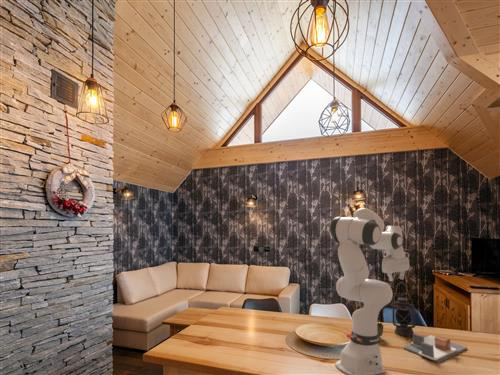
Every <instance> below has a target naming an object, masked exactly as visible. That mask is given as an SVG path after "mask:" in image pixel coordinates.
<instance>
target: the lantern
mask: <svg viewBox="0 0 500 375" xmlns="http://www.w3.org/2000/svg"><path fill="white" fill-rule="evenodd" d="M400 284H402V281H400V282H399V283H398V284H397V285H396V288H395V293H394V296H393V298H392V303H391V305H390V306H391V307H392V325H393V326H394V327H395V329H394V334H395V335H396V336H399V335H400V337H402V336H404V337H403V338H413V333H415V332H414V330H413V329H414V328H416V318H415V312H414V310H415V308H416V307H415V305H414V304H413V301H412V298H411V296H410V295H409V292H408V291H409V290H408V286H407V285H406V284H405V283H403V285H404V286H405V287H406V291H407V295H408V297H409V299H410V301H411V302H408V299H407V298H406V297H403V296H404V295H403V293H401V295H400V297H398V298H396V299H397V300H396V302H394V300H395V297H396V296H397V295H396V294H397V290H398V286H399V285H400ZM395 305H396V306H397V307H396V310H395ZM409 307H410V308H411V311H410V309H409ZM395 320H396V322H397V323H398V324H397V323H395ZM411 322H413V323H412V325H411Z"/></svg>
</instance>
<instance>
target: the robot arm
mask: <svg viewBox="0 0 500 375" xmlns="http://www.w3.org/2000/svg"><path fill="white" fill-rule="evenodd" d="M384 230H385V231H384ZM329 232H330V234H331V236H332V238H333V240H334V242H335V243H336V244H339V246H338V248H337V257H338V261H339V263H340V267H341V270H342V272H343V276H341V277H339V279H338V280H337V282H336V284H335V285H336V286H335V288H336V292H337V294H338V296H340V298H344V299H345V300H349V301H355V302H360V303H363V307H361V308H360V307H359V308H358V309H356V310H354V312H352V316H351V317H352V318H351V320H352V321H351V322H352V329H351V333H349V332H347V333H346V338H348V339H349V341H348V343H347V344H346V345H345V346H344V348H342V350H341V353H340V359H339V360H337V361H336V362H335V364H334V366H335V368H337V369H338V370H339V371H341V372H343V373H344V374H347V375H379V374H384V373H386V368H385V367H384V363H383V362H384V361H383V357H382V351H381V348H380V344H379V343H380V339H379V334H378V330H377V324H378V322H379V321H378V319H379V315H380V312H381V311H382V309H383V308H384V307H386V306H387V305H388V304H390V303H391V301H393V297H394V296H393V294H394V293H393V289H392V287H391V285H390V284H389V283H388V282H386V281H382V280H379V279H372V278H369V275H370V270H369V266H368V264H367V261H366V257H365V255H364V253H363V251H362V249H361V248H360V245H365V247H366V248H367V249H368V250H385V253H386V255H384V256H383V258H382V262H381V272H382V273H384V274H387V277H388V281H389V282H393V281H394V277H393V273H394V274H395V273H400V274H399V275H398V277H399V279H400V280H405V279H404V278H405V277H404V276H405V274H406V273H405V271H409V270H410V254H409V253H408V252H405V251H404V250H405V249H404V247H403V243H404V238H403V236H404V235H403V231H402V227H401V226H400V225H395V224H393V225H390V224H389V225H387V226H385V223H384V220H383V218H382V217H381V216H380V215H378V214H377V213H376V212H375V211H373V210H372V209H369V208H367V207H360V208H358V209H356V211H354V213H353V214H352V217H347V216H346V217H345V216H335V217H334V218H332V220H331V221H330V223H329Z"/></svg>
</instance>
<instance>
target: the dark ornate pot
mask: <svg viewBox="0 0 500 375" xmlns="http://www.w3.org/2000/svg"><path fill="white" fill-rule="evenodd" d="M377 330H378V334H379V340H380V339H381V336H383V334H384V333H383V332H384V324H383V323H382V322H380V323H379V321H377Z"/></svg>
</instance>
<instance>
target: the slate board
mask: <svg viewBox="0 0 500 375" xmlns="http://www.w3.org/2000/svg"><path fill="white" fill-rule="evenodd" d="M450 343H451V347H452V348H455V349H457V351H455V352H453V353H451V354H449V355H447V356H445V357H442V358H440V359H438V360H433V359H430V358H428V357H425V356H423V355H420V354H419V352H420V351H421V348H419V347H417V346H414V345H411V344H409V345H406V346H404V347H403V350H405V351H408V352H410V353H411V354H412V353H413V354H416V355H418V356H420V357H423V358H426V359H428V360H431V361H433V362H435V363H438V364H440V363H441V362H444V361H446V360H448V359H450V358H452V357H454V356H456V355H459V354H461V353H463V352H465V351H466V350H468V346H464V345H461V344H458V343H455V342H451V341H450Z"/></svg>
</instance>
